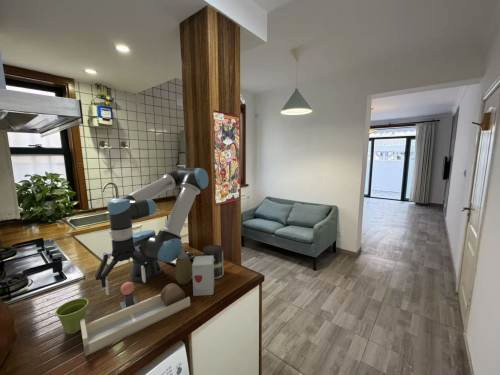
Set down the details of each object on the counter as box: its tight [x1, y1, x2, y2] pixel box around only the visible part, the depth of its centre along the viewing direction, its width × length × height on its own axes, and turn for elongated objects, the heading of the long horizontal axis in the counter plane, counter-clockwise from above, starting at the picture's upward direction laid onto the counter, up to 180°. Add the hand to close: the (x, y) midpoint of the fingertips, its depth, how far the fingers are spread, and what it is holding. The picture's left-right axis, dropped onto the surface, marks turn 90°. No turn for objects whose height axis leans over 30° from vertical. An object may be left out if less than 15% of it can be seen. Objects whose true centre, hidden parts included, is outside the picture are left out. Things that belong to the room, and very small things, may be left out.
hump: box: [160, 283, 186, 306], centre depth 93 cm, size 6×8×8 cm
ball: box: [120, 281, 135, 295], centre depth 93 cm, size 5×5×5 cm
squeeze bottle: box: [174, 246, 193, 285], centre depth 109 cm, size 8×8×18 cm
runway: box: [80, 293, 191, 357], centre depth 85 cm, size 11×36×6 cm, turn 131°
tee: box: [119, 292, 139, 310], centre depth 93 cm, size 6×6×5 cm
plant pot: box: [54, 297, 90, 335], centre depth 81 cm, size 9×9×9 cm
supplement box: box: [191, 255, 215, 297], centre depth 103 cm, size 9×9×15 cm
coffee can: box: [202, 244, 225, 280], centre depth 116 cm, size 10×10×14 cm
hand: (126, 287), depth 92 cm, fingers open, 13 cm apart
